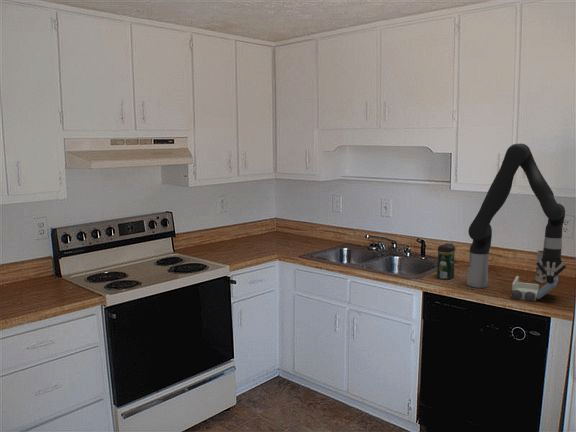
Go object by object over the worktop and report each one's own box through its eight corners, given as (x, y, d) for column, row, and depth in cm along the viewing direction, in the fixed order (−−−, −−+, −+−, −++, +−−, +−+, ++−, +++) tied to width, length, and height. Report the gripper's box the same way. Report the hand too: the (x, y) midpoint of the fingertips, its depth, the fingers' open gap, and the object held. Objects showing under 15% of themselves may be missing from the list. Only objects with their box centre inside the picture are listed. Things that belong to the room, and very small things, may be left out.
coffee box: (541, 283, 268) (543, 253, 266) (534, 280, 275) (537, 250, 272) (558, 283, 268) (560, 253, 266) (552, 279, 275) (554, 250, 272)
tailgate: (535, 298, 239) (554, 284, 234) (538, 289, 252) (556, 276, 248) (537, 300, 239) (556, 286, 234) (540, 291, 252) (558, 278, 247)
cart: (511, 298, 243) (511, 284, 242) (515, 289, 258) (516, 275, 257) (534, 302, 238) (535, 287, 237) (538, 292, 253) (539, 278, 252)
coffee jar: (442, 274, 286) (443, 241, 284) (455, 277, 281) (457, 243, 279) (434, 278, 279) (435, 244, 276) (448, 280, 274) (449, 246, 271)
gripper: (535, 246, 240) (533, 283, 242) (568, 249, 233) (565, 287, 236) (537, 243, 246) (535, 279, 249) (569, 246, 240) (566, 283, 242)
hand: (549, 283), depth 242 cm, fingers closed
